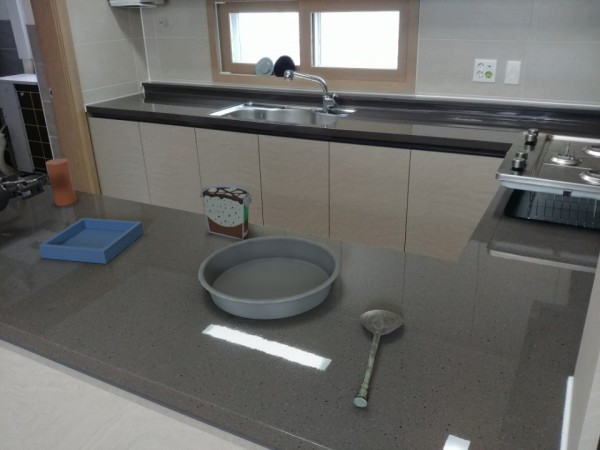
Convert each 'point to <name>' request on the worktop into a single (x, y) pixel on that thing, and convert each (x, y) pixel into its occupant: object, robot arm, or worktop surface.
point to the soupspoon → (375, 342)
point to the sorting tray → (91, 240)
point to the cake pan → (269, 276)
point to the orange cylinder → (61, 182)
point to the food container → (227, 209)
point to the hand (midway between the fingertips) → (31, 178)
